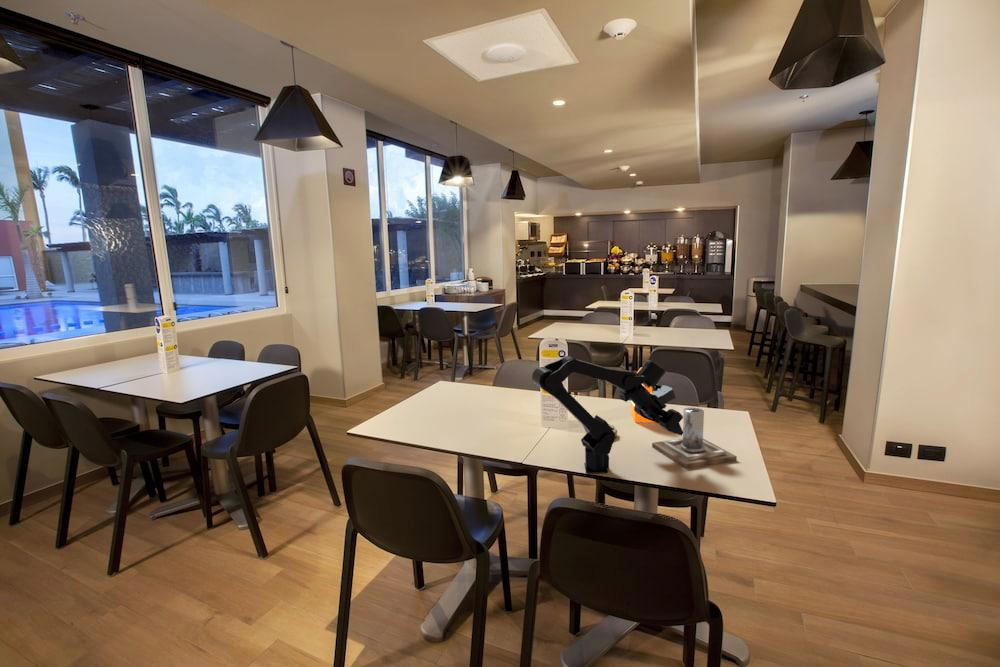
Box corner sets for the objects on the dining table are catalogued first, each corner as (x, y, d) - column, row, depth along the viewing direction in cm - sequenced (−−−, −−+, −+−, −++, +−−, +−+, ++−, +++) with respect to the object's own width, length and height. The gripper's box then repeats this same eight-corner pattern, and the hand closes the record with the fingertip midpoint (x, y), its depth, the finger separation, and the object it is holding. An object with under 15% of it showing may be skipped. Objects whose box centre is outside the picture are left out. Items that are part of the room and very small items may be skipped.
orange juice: (650, 415, 192) (651, 366, 189) (655, 422, 183) (656, 371, 180) (630, 415, 193) (630, 366, 190) (634, 422, 184) (634, 372, 181)
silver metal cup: (692, 455, 149) (693, 415, 147) (675, 447, 156) (676, 408, 154) (709, 451, 152) (711, 411, 150) (692, 443, 158) (693, 405, 156)
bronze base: (685, 469, 143) (686, 461, 143) (652, 447, 160) (652, 439, 160) (736, 460, 147) (736, 453, 147) (698, 440, 165) (698, 433, 164)
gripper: (678, 386, 138) (709, 418, 142) (643, 372, 156) (671, 401, 160) (653, 415, 137) (685, 447, 142) (620, 398, 155) (650, 426, 159)
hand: (673, 429), depth 151 cm, fingers open, 9 cm apart
